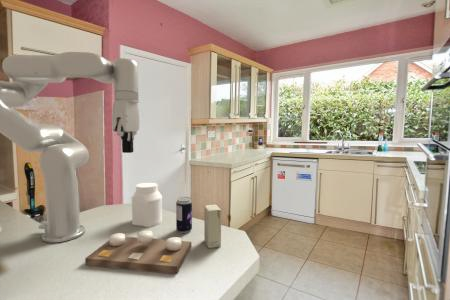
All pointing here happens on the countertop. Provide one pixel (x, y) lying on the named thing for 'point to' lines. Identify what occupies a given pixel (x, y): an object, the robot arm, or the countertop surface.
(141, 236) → the button middle
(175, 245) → the button right
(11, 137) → the robot arm
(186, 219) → the beverage can
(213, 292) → the countertop surface
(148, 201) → the jar
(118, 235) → the button left
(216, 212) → the skincare box
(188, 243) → the button board
